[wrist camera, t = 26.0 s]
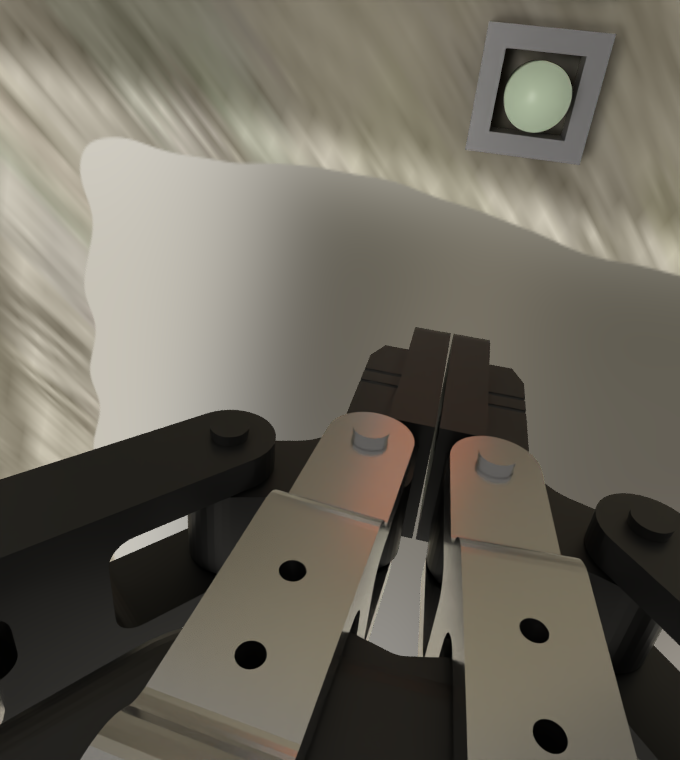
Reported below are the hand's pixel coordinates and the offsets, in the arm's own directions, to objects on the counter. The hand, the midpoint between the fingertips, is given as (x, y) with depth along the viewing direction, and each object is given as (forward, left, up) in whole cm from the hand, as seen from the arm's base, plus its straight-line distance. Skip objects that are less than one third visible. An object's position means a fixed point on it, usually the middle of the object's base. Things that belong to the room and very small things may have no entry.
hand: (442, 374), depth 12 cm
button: (+3, +3, -38) cm, 38 cm away
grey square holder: (+3, +3, -39) cm, 39 cm away
